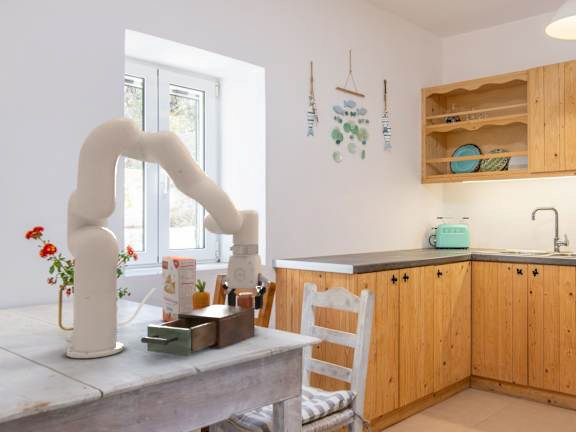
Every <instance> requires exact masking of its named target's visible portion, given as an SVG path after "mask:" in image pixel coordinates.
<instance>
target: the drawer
mask: <svg viewBox="0 0 576 432" xmlns="http://www.w3.org/2000/svg"><path fill="white" fill-rule="evenodd" d="M217 321H218V320H207V319H196V318H186V317H185V318H181V319H178V320H174V321H170V322H167V321H165V322H162V323H158V324H156V325H155V324H149V325H147V326H146V327H147V328H146V329H147V336H142V337H141V339H140V342H141V343H142V344H146V345H147V352H153V353H159V354H168V355H175V356H176V355H177V356H183V357H189V356H191V355H192V353H193V352H196V351H199V350H203V349H205V348H209V347H208V346H210V345H213V344H216V343H217Z"/></svg>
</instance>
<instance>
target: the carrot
mask: <svg viewBox="0 0 576 432" xmlns="http://www.w3.org/2000/svg"><path fill="white" fill-rule="evenodd" d="M196 282H197V283H196V284H195V286H196V289H197V290H198V291H196V292H195V293H194V294H193V310H196V309H200V308H204V307H208V306H211V294H210V292H209V291H205V289H206V284H207V282H206V281H204V280H203V281H201V279H196Z"/></svg>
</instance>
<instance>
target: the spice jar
mask: <svg viewBox="0 0 576 432" xmlns="http://www.w3.org/2000/svg"><path fill="white" fill-rule="evenodd" d="M236 306H240V307H253V308H255V295H254V293H253V292H250V291H249V292H248V291H247V292H246V291H245V292H239V293H238V296H236Z"/></svg>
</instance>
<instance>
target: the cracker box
mask: <svg viewBox="0 0 576 432" xmlns="http://www.w3.org/2000/svg"><path fill="white" fill-rule="evenodd" d="M161 268H162V269H161V270H162V271H161V275H162V276H161V277H162V278H161V280H162V281H161V282H162V285H161V287H162V289H161V290H162V295H161V296H162V320H163V321H164V322H170V321H174V320H178V314H180V313H184V312H188V311H192V310H193V294H194V293H195V292H197V287H196V286H195V284H197V259H196V258H192V257H187V256H182V255H167V256H162V258H161Z"/></svg>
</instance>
